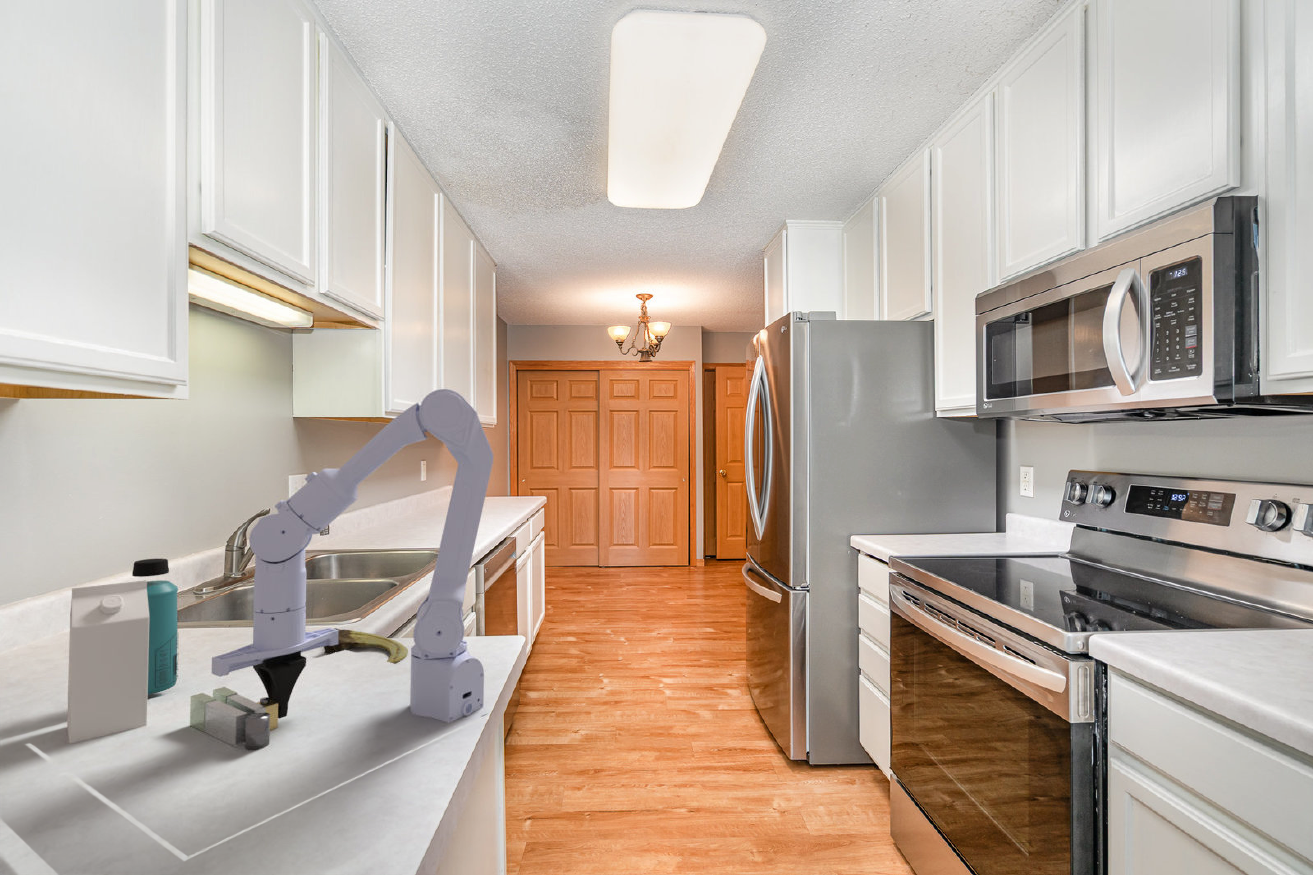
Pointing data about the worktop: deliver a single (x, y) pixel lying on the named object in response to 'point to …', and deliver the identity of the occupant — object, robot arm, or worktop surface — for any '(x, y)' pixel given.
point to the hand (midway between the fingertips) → (278, 715)
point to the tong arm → (237, 701)
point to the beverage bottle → (160, 625)
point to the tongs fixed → (229, 722)
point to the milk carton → (108, 660)
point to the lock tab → (271, 711)
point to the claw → (367, 644)
